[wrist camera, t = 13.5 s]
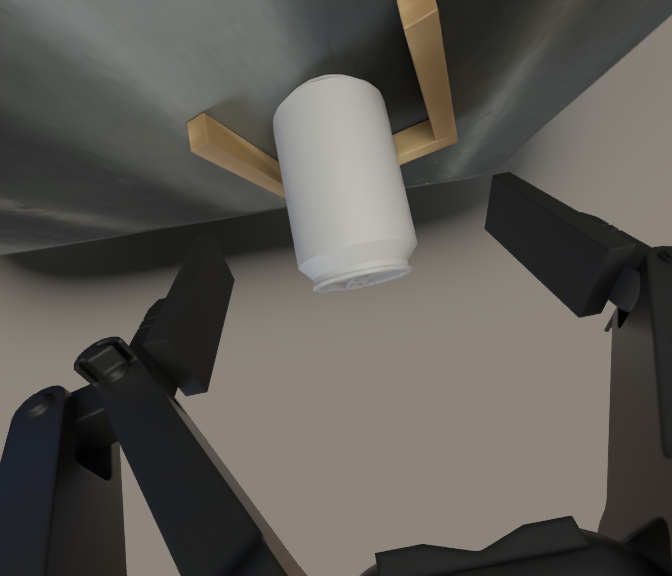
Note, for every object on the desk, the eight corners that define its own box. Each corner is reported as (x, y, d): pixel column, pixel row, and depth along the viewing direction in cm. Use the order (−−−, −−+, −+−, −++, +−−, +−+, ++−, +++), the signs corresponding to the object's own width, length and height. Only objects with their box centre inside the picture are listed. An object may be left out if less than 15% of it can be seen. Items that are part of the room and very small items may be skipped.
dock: (294, 186, 31) (298, 205, 30) (186, 122, 19) (190, 152, 19) (452, 119, 25) (457, 142, 24) (427, -32, 13) (438, 9, 13)
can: (403, 69, 18) (450, 263, 17) (356, 144, 25) (387, 286, 24) (279, 54, 16) (322, 281, 15) (264, 143, 23) (293, 302, 22)
